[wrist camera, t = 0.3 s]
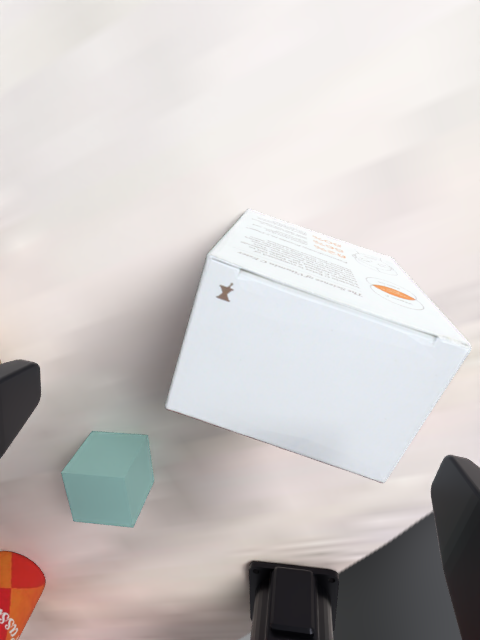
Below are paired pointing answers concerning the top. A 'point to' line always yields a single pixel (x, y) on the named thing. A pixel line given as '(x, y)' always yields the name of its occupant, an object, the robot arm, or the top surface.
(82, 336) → the top surface
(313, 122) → the top surface
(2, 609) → the paper cup
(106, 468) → the teal cube
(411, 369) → the small box
